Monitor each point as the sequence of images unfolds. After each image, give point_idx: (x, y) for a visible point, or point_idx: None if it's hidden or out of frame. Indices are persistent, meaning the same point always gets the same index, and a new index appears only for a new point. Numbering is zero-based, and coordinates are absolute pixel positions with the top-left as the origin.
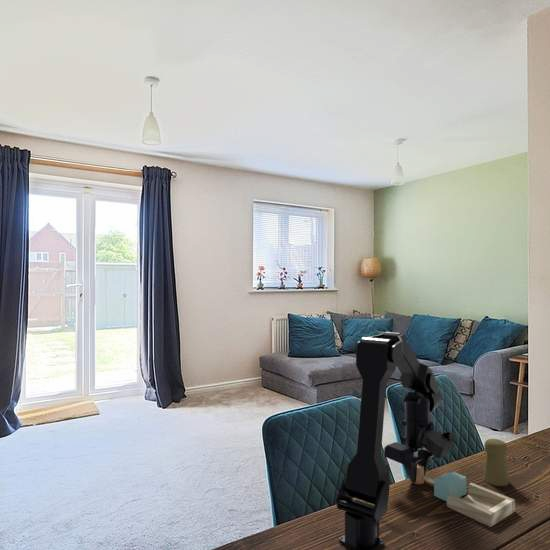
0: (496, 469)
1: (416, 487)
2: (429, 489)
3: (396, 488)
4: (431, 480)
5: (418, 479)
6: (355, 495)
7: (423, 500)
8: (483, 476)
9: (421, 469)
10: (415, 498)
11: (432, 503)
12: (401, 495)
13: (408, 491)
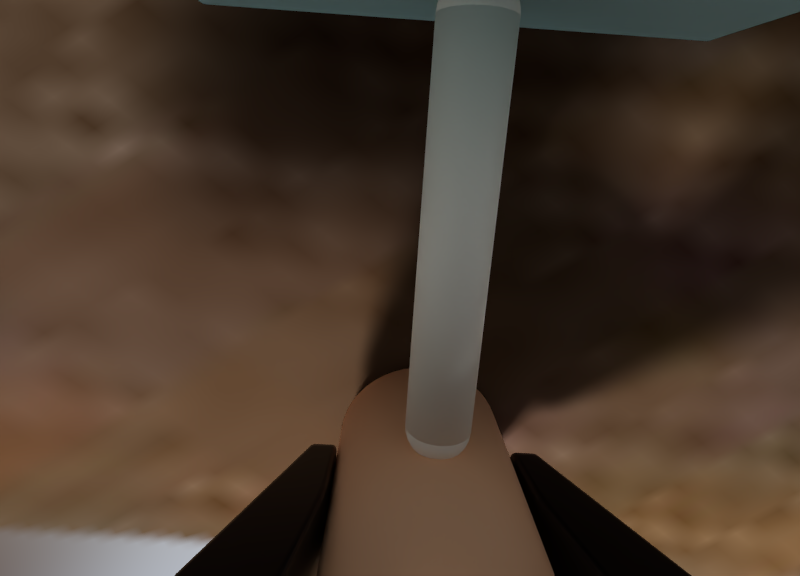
0: None
1: None
2: (399, 280)
3: (663, 522)
4: (491, 252)
5: (500, 451)
6: None
7: (741, 164)
8: None
9: (488, 563)
10: (754, 262)
11: (745, 29)
12: (786, 405)
13: (639, 409)
